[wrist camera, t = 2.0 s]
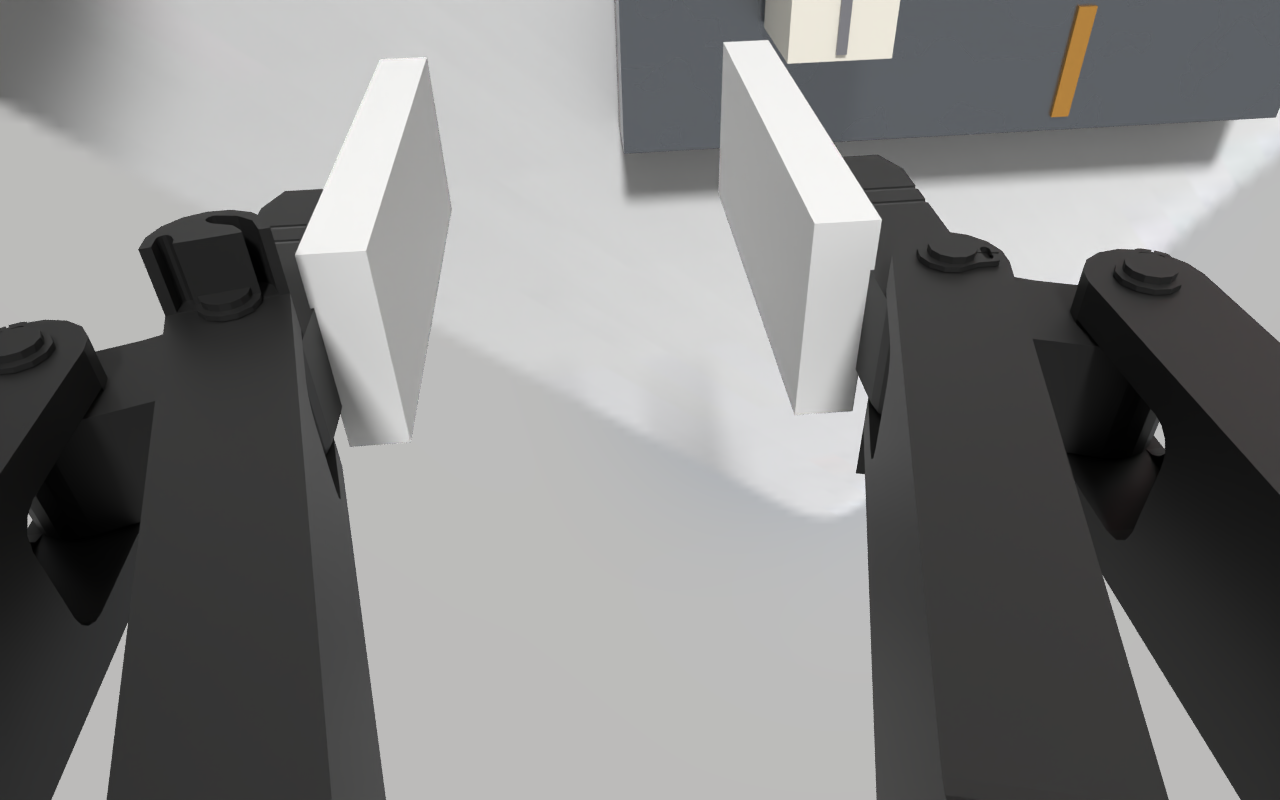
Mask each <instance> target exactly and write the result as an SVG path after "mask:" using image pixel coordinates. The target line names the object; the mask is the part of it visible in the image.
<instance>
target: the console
mask: <svg viewBox="0 0 1280 800" xmlns="http://www.w3.org/2000/svg"><path fill="white" fill-rule="evenodd" d="M614 1H615V27H616V54H617V80H618V106H619V127H620V133H621V139H622V145H623V151H624V153H642V152H660V151H678V150H696V149H714V148H720V131H721V100H722V68H723V42H738V41H758V40H769V42H770V44H771V45H772V47H773V48H774V50H775V52H776V53H777V55H778V56H779V58H780V59H781V61H782V63H783V64H784V66H785V67H786V69H787V70H788V72H789V74H790V75H791V77H792V78H793V80H794V82H795V83H796V85H797V86H798V88H799V89H800V91H801V93H802V94H803V96H804V97H805V99H806V101H807V102H808V104H809V105H810V107H811V108H812V110H813V112H814V113H815V115H816V116H817V118H818V120H819V121H820V123H821V124H822V126H823V127H824V129H825V131H826V132H827V134H828V135H829V137H830V138H831V140H832V142H841V141H859V140H877V139H895V138H913V137H931V136H949V135H967V134H985V133H1003V132H1021V131H1039V130H1057V129H1075V128H1093V127H1111V126H1129V125H1147V124H1165V123H1183V122H1201V121H1220V120H1238V119H1256V118H1274V117H1276V115H1277V113H1278V110H1279V108H1280V0H900V5H899V12H898V19H897V26H896V33H895V40H894V47H893V54H892V58H890V59H870V60H851V61H831V62H812V63H792V64H787V62H786V61H785V59H784V58H783V56H782V54H781V53H780V51H779V50H778V48H777V47H776V45H775V44H774V42H773V40H772V39H771V37H770V36H769V34H768V33H767V31H766V30H765V28H764V20H765V2H766V0H614Z"/></svg>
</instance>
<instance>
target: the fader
mask: <svg viewBox="0 0 1280 800" xmlns="http://www.w3.org/2000/svg"><path fill="white" fill-rule="evenodd" d="M899 5H900V0H766V2H765V20H764V28H765V30H766V31H767V33H768V34H769V36H770V37H771V39H772V40H773V42H774V44H775V45H776V47H777V48H778V50H779V51H780V53H781V54H782V56H783V58H784V59H785V61H786V62H787V64H792V63H812V62H831V61H851V60H870V59H890V58H892V54H893V47H894V40H895V33H896V26H897V19H898V12H899Z"/></svg>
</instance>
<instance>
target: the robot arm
mask: <svg viewBox="0 0 1280 800" xmlns="http://www.w3.org/2000/svg"><path fill="white" fill-rule="evenodd" d="M719 196H720V199H721V202H722V205H723V208H724V211H725V214H726V217H727V220H728V222H729V225H730V228H731V231H732V234H733V237H734V240H735V243H736V246H737V249H738V252H739V254H740V257H741V260H742V263H743V266H744V269H745V272H746V275H747V278H748V281H749V284H750V286H751V289H752V292H753V295H754V298H755V301H756V304H757V307H758V310H759V313H760V316H761V318H762V321H763V324H764V327H765V330H766V333H767V336H768V339H769V342H770V345H771V348H772V350H773V353H774V356H775V359H776V362H777V365H778V368H779V371H780V374H781V377H782V380H783V382H784V385H785V388H786V391H787V394H788V397H789V400H790V403H791V406H792V409H793V412H794V414H795V415H804V414H818V413H832V412H846V411H853V405H854V398H855V392H856V385H857V379H858V375H859V378H860V380H861V382H862V384H863V386H864V389H865V391H866V393H867V395H868V403H867V409H866V416H865V422H864V428H863V434H862V440H861V446H860V452H859V458H858V464H857V470H856V473H859V474H865V486H866V514H867V542H868V570H869V595H870V596H869V597H870V623H871V624H870V625H871V654H872V682H873V709H874V736H875V764H876V792H877V800H1169V799H1168V796H1167V792H1166V789H1165V786H1164V782H1163V779H1162V776H1161V772H1160V769H1159V765H1158V762H1157V759H1156V755H1155V752H1154V749H1153V745H1152V742H1151V738H1150V735H1149V731H1148V728H1147V725H1146V721H1145V718H1144V715H1143V711H1142V708H1141V705H1140V701H1139V698H1138V694H1137V691H1136V688H1135V684H1134V681H1133V677H1132V674H1131V671H1130V667H1129V664H1128V660H1127V657H1126V654H1125V650H1124V647H1123V644H1122V640H1121V637H1120V633H1119V630H1118V627H1117V623H1116V620H1115V616H1114V613H1113V610H1112V606H1111V603H1110V600H1109V597H1108V593H1107V590H1106V586H1105V583H1104V579H1103V576H1104V578H1105V580H1106V581H1107V583H1108V585H1109V586H1110V588H1111V589H1112V591H1113V593H1114V594H1115V596H1116V598H1117V599H1118V601H1119V602H1120V604H1121V606H1122V607H1123V609H1124V610H1125V612H1126V614H1127V615H1128V617H1129V619H1130V620H1131V622H1132V624H1133V625H1134V627H1135V628H1136V630H1137V632H1138V633H1139V635H1140V636H1141V638H1142V640H1143V641H1144V643H1145V645H1146V646H1147V648H1148V650H1149V651H1150V653H1151V655H1152V656H1153V658H1154V659H1155V661H1156V663H1157V664H1158V666H1159V668H1160V669H1161V671H1162V672H1163V674H1164V676H1165V677H1166V679H1167V680H1168V682H1169V684H1170V685H1171V687H1172V689H1173V690H1174V692H1175V693H1176V695H1177V697H1178V698H1179V700H1180V702H1181V703H1182V705H1183V706H1184V708H1185V710H1186V711H1187V713H1188V715H1189V716H1190V718H1191V720H1192V721H1193V723H1194V724H1195V726H1196V728H1197V729H1198V731H1199V733H1200V734H1201V736H1202V737H1203V739H1204V741H1205V742H1206V744H1207V746H1208V747H1209V749H1210V750H1211V752H1212V754H1213V755H1214V757H1215V758H1216V760H1217V762H1218V763H1219V765H1220V767H1221V768H1222V770H1223V771H1224V773H1225V775H1226V776H1227V778H1228V779H1229V781H1230V783H1231V785H1232V786H1233V788H1234V789H1235V791H1236V793H1237V794H1238V796H1239V798H1240V799H1241V800H1280V342H1278V341H1277V340H1276V339H1275V338H1274V337H1273V336H1272V335H1271V334H1270V333H1269V332H1267V331H1266V330H1265V329H1264V328H1263V327H1262V326H1261V325H1259V323H1257V322H1256V321H1255V320H1254V319H1253V318H1252V317H1251V316H1250V315H1248V314H1247V313H1246V312H1245V311H1244V310H1243V309H1242V308H1241V307H1240V306H1239V305H1238V304H1237V303H1235V302H1234V301H1233V300H1232V299H1231V298H1230V297H1229V296H1228V295H1226V294H1225V293H1224V292H1223V291H1222V290H1221V289H1220V288H1219V287H1218V286H1217V285H1216V284H1215V283H1213V282H1212V281H1211V280H1210V279H1209V278H1208V277H1207V276H1205V274H1203V273H1202V272H1200V271H1198V270H1197V269H1196V268H1194V267H1192V266H1191V265H1189V264H1188V263H1185V262H1183V261H1180V260H1178V259H1175V258H1172V257H1171V256H1170V255H1168V254H1166V253H1162V252H1158V251H1154V252H1151V250H1147V249H1135V250H1128V249H1116V250H1110V251H1105V252H1099V253H1097V254H1095V255H1094V256H1092V257H1090V258H1089V259H1087V260H1086V263H1085V265H1084V268H1083V271H1082V274H1081V277H1080V281H1079V284H1078V285H1071V284H1062V283H1052V282H1043V281H1034V280H1028V279H1022V278H1016V277H1014V275H1013V271H1012V268H1011V265H1010V262H1009V260H1008V259H1007V257H1006V256H1005V254H1004V253H1003V252H1002V251H1001V250H1000V249H998V248H997V247H995V246H993V245H992V244H990V243H989V242H987V241H984V240H981V239H978V238H975V237H972V236H969V235H965V234H958V233H951V232H949V230H948V229H947V228H946V226H945V225H944V224H943V222H942V221H941V220H940V218H939V217H938V215H937V214H936V213H935V211H934V210H933V209H932V207H931V206H930V205H929V203H928V202H925V198H924V197H923V195H922V194H921V193H920V191H919V190H918V189H915V184H914V183H913V182H912V180H911V179H910V178H909V176H908V175H907V174H906V172H905V171H904V170H903V169H902V168H901V167H899V166H897V165H895V164H893V163H892V162H890V161H888V160H886V159H884V158H883V157H881V156H879V155H869V156H851V157H842V156H841V154H840V153H839V151H838V150H837V148H836V146H835V145H834V143H833V142H832V140H831V138H830V137H829V135H828V134H827V132H826V131H825V129H824V127H823V126H822V124H821V123H820V121H819V120H818V118H817V116H816V115H815V113H814V112H813V110H812V108H811V107H810V105H809V104H808V102H807V101H806V99H805V97H804V96H803V94H802V93H801V91H800V89H799V88H798V86H797V85H796V83H795V82H794V80H793V78H792V77H791V75H790V74H789V72H788V70H787V69H786V67H785V66H784V64H783V63H782V61H781V59H780V58H779V56H778V55H777V53H776V52H775V50H774V48H773V47H772V45H771V44H770V42H769V40H758V41H738V42H723V68H722V100H721V131H720V162H719ZM451 210H452V208H451V202H450V196H449V189H448V183H447V177H446V171H445V165H444V159H443V153H442V147H441V140H440V134H439V128H438V122H437V116H436V110H435V104H434V98H433V92H432V85H431V79H430V73H429V67H428V61H427V57H416V58H396V59H380V61H379V63H378V66H377V68H376V70H375V72H374V75H373V77H372V79H371V82H370V84H369V86H368V88H367V91H366V93H365V95H364V98H363V100H362V102H361V104H360V107H359V109H358V111H357V114H356V116H355V118H354V121H353V123H352V125H351V127H350V130H349V132H348V134H347V137H346V139H345V141H344V143H343V146H342V148H341V150H340V153H339V155H338V157H337V159H336V162H335V164H334V166H333V169H332V171H331V173H330V176H329V178H328V180H327V182H326V185H325V187H324V189H316V190H298V191H285V192H283V193H282V194H281V195H279V196H278V197H276V198H275V199H274V200H272V201H271V202H270V203H268V204H267V205H265V206H264V207H263V208H261V210H260V212H259V214H258V215H257V214H254V213H252V212H245V211H236V210H224V211H212V212H204V213H200V214H196V215H192V216H188V217H183V218H181V219H178V220H176V221H174V222H171V223H169V224H166V225H164V226H161V227H160V228H159V229H157V230H156V231H154V232H153V233H151V234H150V235H149V236H147V237H146V238H145V239H144V241H143V243H142V244H141V246H140V247H139V249H138V250H139V252H140V255H141V257H142V259H143V262H144V264H145V267H146V269H147V272H148V274H149V277H150V279H151V282H152V284H153V287H154V289H155V291H156V294H157V296H158V299H159V301H160V304H161V306H162V309H163V311H164V314H165V324H164V332H163V335H160V336H156V337H153V338H150V339H147V340H143V341H139V342H135V343H131V344H127V345H122V346H118V347H114V348H109V349H105V350H101V351H97V352H95V351H94V348H93V346H92V344H91V342H90V340H89V338H88V336H87V334H86V332H85V331H84V329H83V327H82V326H79V325H77V324H74V323H71V322H69V321H60V320H41V321H35V322H29V323H27V322H20V323H16V324H12V325H9V328H6V327H2V328H0V800H51V799H52V797H53V794H54V792H55V790H56V787H57V785H58V783H59V780H60V778H61V776H62V773H63V771H64V769H65V767H66V764H67V762H68V760H69V757H70V755H71V753H72V750H73V748H74V746H75V743H76V741H77V738H78V736H79V734H80V732H81V730H82V727H83V725H84V723H85V720H86V718H87V716H88V713H89V711H90V708H91V706H92V704H93V702H94V699H95V697H96V695H97V692H98V690H99V688H100V686H101V683H102V681H103V678H104V676H105V674H106V671H107V669H108V667H109V665H110V662H111V660H112V658H113V655H114V653H115V651H116V648H117V646H118V644H119V641H120V639H121V637H122V634H123V632H124V630H125V628H126V625H127V623H128V629H127V637H126V645H125V653H124V662H123V670H122V678H121V686H120V695H119V703H118V711H117V719H116V728H115V736H114V744H113V753H112V761H111V769H110V777H109V785H108V793H107V800H386V797H385V790H384V783H383V774H382V768H381V759H380V751H379V744H378V736H377V729H376V721H375V713H374V706H373V698H372V691H371V683H370V675H369V668H368V660H367V652H366V644H365V637H364V629H363V622H362V614H361V607H360V599H359V591H358V584H357V576H356V568H355V561H354V553H353V545H352V538H351V530H350V523H349V515H348V507H347V499H346V492H345V484H344V477H343V469H342V464H341V461H340V457H339V454H338V451H337V448H336V444H335V441H334V435H335V431H336V428H337V424H338V420H339V417H340V414H341V417H342V420H343V424H344V427H345V431H346V434H347V437H348V441H349V445H350V446H351V447H352V446H366V445H380V444H395V443H408V442H411V438H412V432H413V427H414V421H415V415H416V410H417V404H418V398H419V392H420V387H421V381H422V375H423V370H424V363H425V358H426V353H427V347H428V341H429V335H430V330H431V324H432V318H433V313H434V307H435V301H436V296H437V290H438V284H439V278H440V273H441V267H442V261H443V256H444V250H445V244H446V239H447V233H448V227H449V221H450V216H451ZM1159 422H1160V423H1161V425H1162V429H1163V433H1164V437H1165V449H1164V448H1163V447H1162V445H1161V444H1160V443H1159V442H1158V440H1157V439H1156V438H1155V437H1154V433H1155V430H1156V428H1157V426H1158V423H1159ZM28 513H29V515H30V516H31V518H32V522H31V524H30V525H29V527H28V529H27V516H28ZM1102 575H1103V576H1102Z"/></svg>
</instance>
